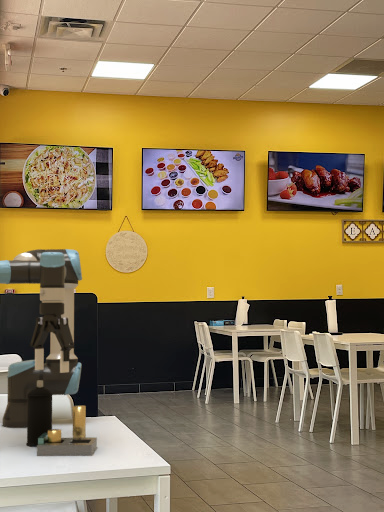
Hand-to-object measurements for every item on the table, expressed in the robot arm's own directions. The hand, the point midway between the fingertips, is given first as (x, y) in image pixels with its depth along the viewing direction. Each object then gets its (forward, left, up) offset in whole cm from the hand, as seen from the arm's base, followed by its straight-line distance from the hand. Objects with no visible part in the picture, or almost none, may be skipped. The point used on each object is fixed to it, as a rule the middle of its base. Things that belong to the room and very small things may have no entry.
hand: (51, 371), depth 226 cm
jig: (+4, +6, -24) cm, 25 cm away
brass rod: (-6, +8, -24) cm, 26 cm away
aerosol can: (-8, -5, -24) cm, 26 cm away
